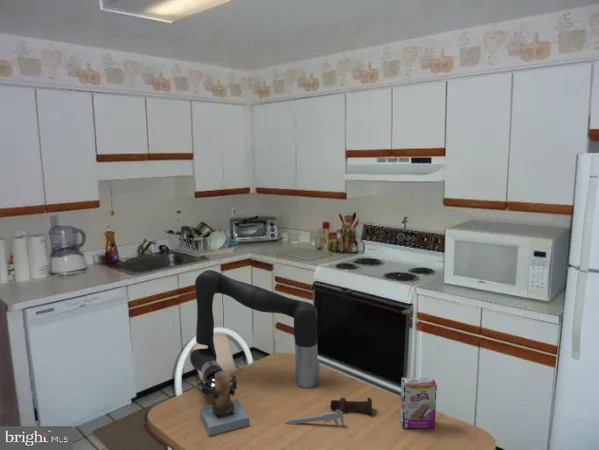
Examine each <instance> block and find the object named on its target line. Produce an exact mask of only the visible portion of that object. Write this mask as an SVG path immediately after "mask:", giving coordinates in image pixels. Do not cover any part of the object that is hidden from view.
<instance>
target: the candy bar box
mask: <svg viewBox="0 0 599 450" xmlns="http://www.w3.org/2000/svg"><path fill="white" fill-rule="evenodd" d="M400 384H401V385H400V388H401V389H400V411H399V413H400V414H399V418H400V419H399V421H400V424H401V427H402V429H403V430H404V429H405V430H406V429H407V430H408V429H409V430H410V429H413V430H414V429H420V430H421V429H422V430H425V429H426V430H427V429H428V430H429V429H432V430H433V429H435V428H436V427H435V426H436V412H437V411H436V409H437V407H436V406H437V405H436V403H437V391H438V390H437V389H438V387H437V386H438V385H437V383H436V381H435V379H434V377H401V381H400Z"/></svg>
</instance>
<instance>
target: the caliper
mask: <svg viewBox="0 0 599 450" xmlns="http://www.w3.org/2000/svg"><path fill="white" fill-rule="evenodd" d="M343 413H344V412H342V411H340V409H335V411H333V412H326V413H322V414H319V415H310V416H304V417H296V418H290V419H289V418H288V420H285V422H284V423H285V425H287V424H289V425H297V424H305V423H311V422H312V423H313V422H319V421H320V422H321V421H323V422H324V423H327V422H331V421H333V422H334V423H335V425H336V427H339V420H338V419H340V422H341V426H342V427H344V426H345V425H344V424H345V423H344V420H345V418H344V414H343Z"/></svg>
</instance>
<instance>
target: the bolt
mask: <svg viewBox="0 0 599 450" xmlns="http://www.w3.org/2000/svg"><path fill="white" fill-rule="evenodd" d="M366 399H367V400H364V401H363V400H362V401H357V400H347V399H346V398H345V397H340V399H332V400H331V401H330V404H329V406H330V409H332V410H336V409H337V410H339V409H340V412H341V411H342V413H345V412H346V411H361V412H367V415H368V416H371V415H372V414H373V400H372V398H370V397H367V398H366Z"/></svg>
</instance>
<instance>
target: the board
mask: <svg viewBox="0 0 599 450" xmlns="http://www.w3.org/2000/svg"><path fill="white" fill-rule="evenodd" d="M231 402H233V404H234V410H233V411H232V412H231V413H230V415H229V416H225V417H221V418H218V417H217V414H215V413H214V412H213V411H212V406H213V405H214V404H215V403H213V404H208V405H204V406H200V407H199V413H200V418H201V420H202V423H203V424H204V427H205V429H206V432H207V434H208V436H215V435H218V434H222V433H225V432H229V431H233V430H237V429H241V428H244V427H249V426H250V417H249V415H248V413H247V412H246V410H245V408H244V406H243V405H242V403H241V401H240V400H239V399H238V398H233V399H231Z"/></svg>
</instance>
